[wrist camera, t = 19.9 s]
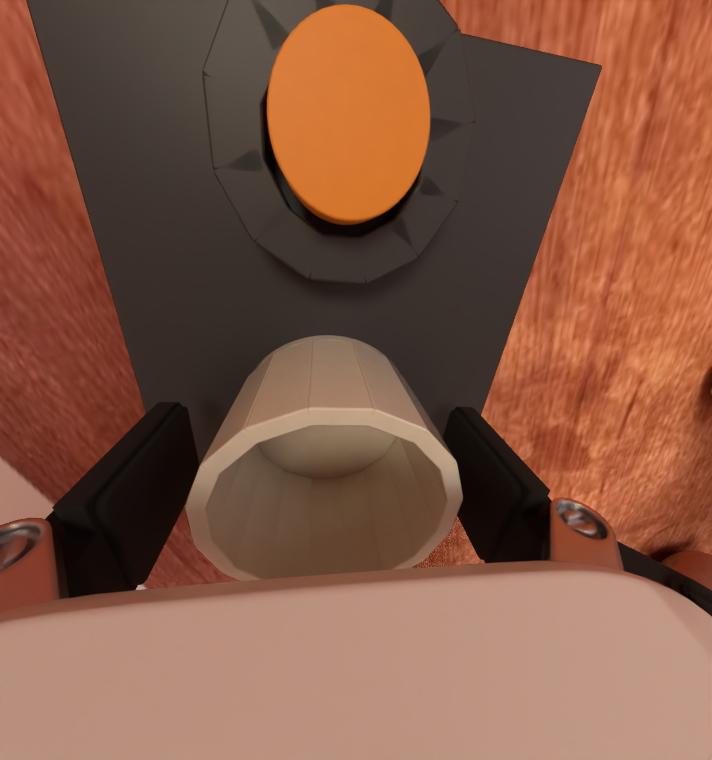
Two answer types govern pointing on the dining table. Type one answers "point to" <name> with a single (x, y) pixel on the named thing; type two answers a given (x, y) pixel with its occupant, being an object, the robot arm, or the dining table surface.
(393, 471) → the bowl
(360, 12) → the button
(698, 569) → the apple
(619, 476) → the dining table surface
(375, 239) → the scale
